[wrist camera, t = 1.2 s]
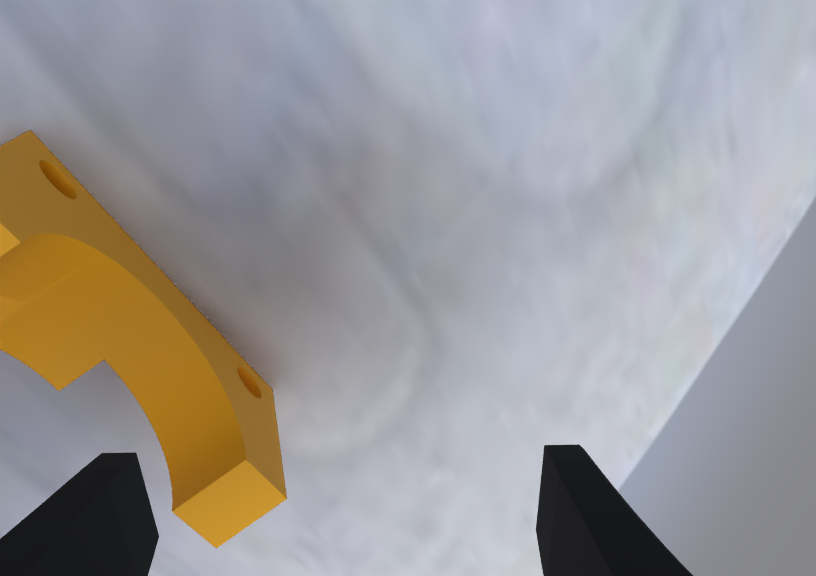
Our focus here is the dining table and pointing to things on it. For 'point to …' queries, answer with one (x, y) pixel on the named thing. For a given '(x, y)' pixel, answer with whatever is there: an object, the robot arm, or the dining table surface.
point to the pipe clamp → (133, 341)
